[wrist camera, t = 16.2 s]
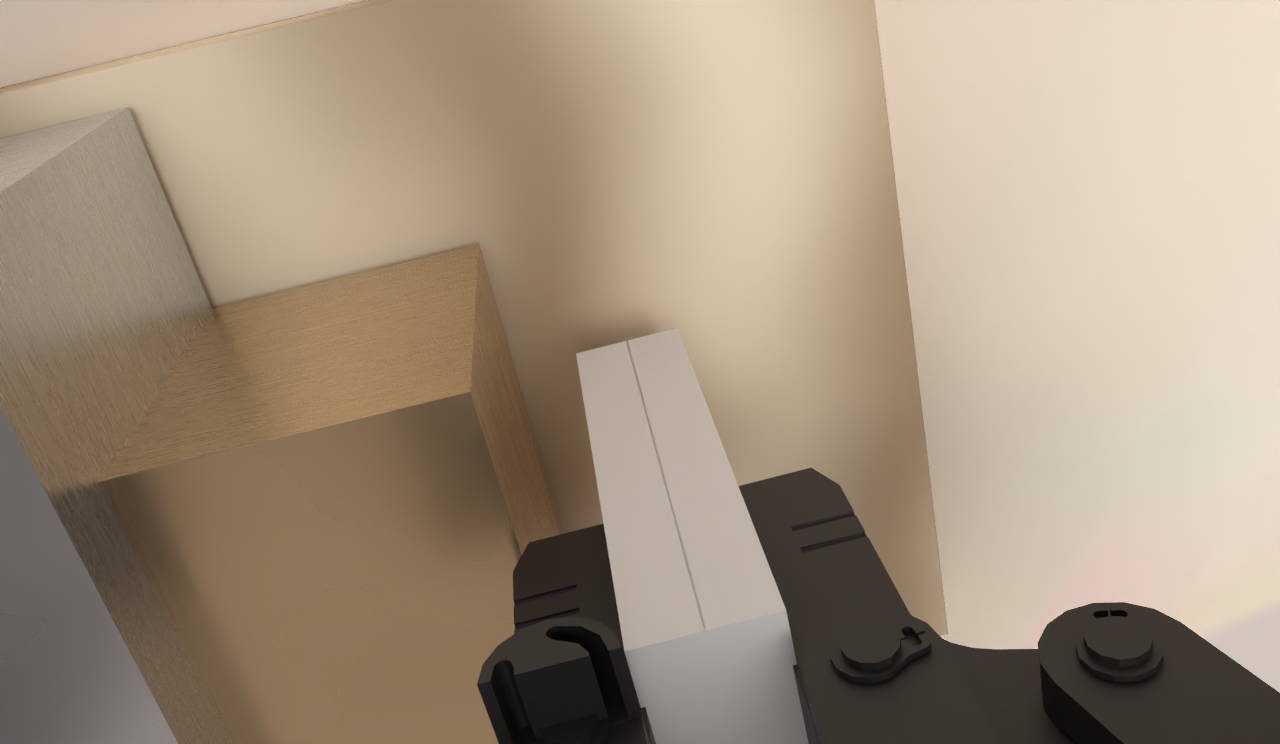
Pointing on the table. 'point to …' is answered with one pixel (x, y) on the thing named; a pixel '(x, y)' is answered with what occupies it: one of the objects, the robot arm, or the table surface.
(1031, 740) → the robot arm
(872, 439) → the press
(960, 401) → the table surface
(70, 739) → the slide jaw
